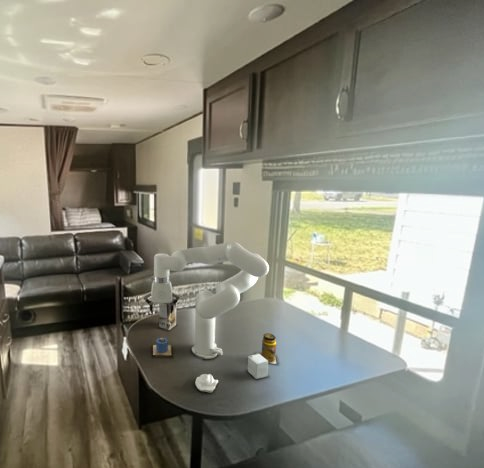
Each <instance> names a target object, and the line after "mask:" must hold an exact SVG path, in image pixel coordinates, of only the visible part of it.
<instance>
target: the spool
mask: <svg viewBox="0 0 484 468" xmlns="http://www.w3.org/2000/svg"><path fill="white" fill-rule="evenodd" d="M161 338H163V339H164V342H160V339H161ZM155 345H156V350H157V352H159V353H165V352H167V351H168V345H169V340H168V338H166V337H158V338H157V339H155Z"/></svg>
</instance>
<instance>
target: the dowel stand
mask: <svg viewBox="0 0 484 468" xmlns="http://www.w3.org/2000/svg"><path fill="white" fill-rule="evenodd" d="M160 338H161V339H160V342H164V339H163V338H164V337H160ZM152 355H153V356H172V345H171V344H168V351H167V352H165V353H159V352H157V350H156V344H153V345H152Z"/></svg>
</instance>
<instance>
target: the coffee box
mask: <svg viewBox="0 0 484 468" xmlns="http://www.w3.org/2000/svg"><path fill="white" fill-rule="evenodd" d="M175 299H176V298H172V300H173V301H174V300H175ZM158 305H159V307H158V308H159V311H158V312H159V313H158V314H159V315H158V317H159V318H158V319H159V320H158V321H159V324H158V327H159V328H161V329H164V330H168V331H170V330H172V329H173V328H174V327H175V326H177V303H176V304H175V305H174V311H172V314H171V304H170V303H158Z"/></svg>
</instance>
